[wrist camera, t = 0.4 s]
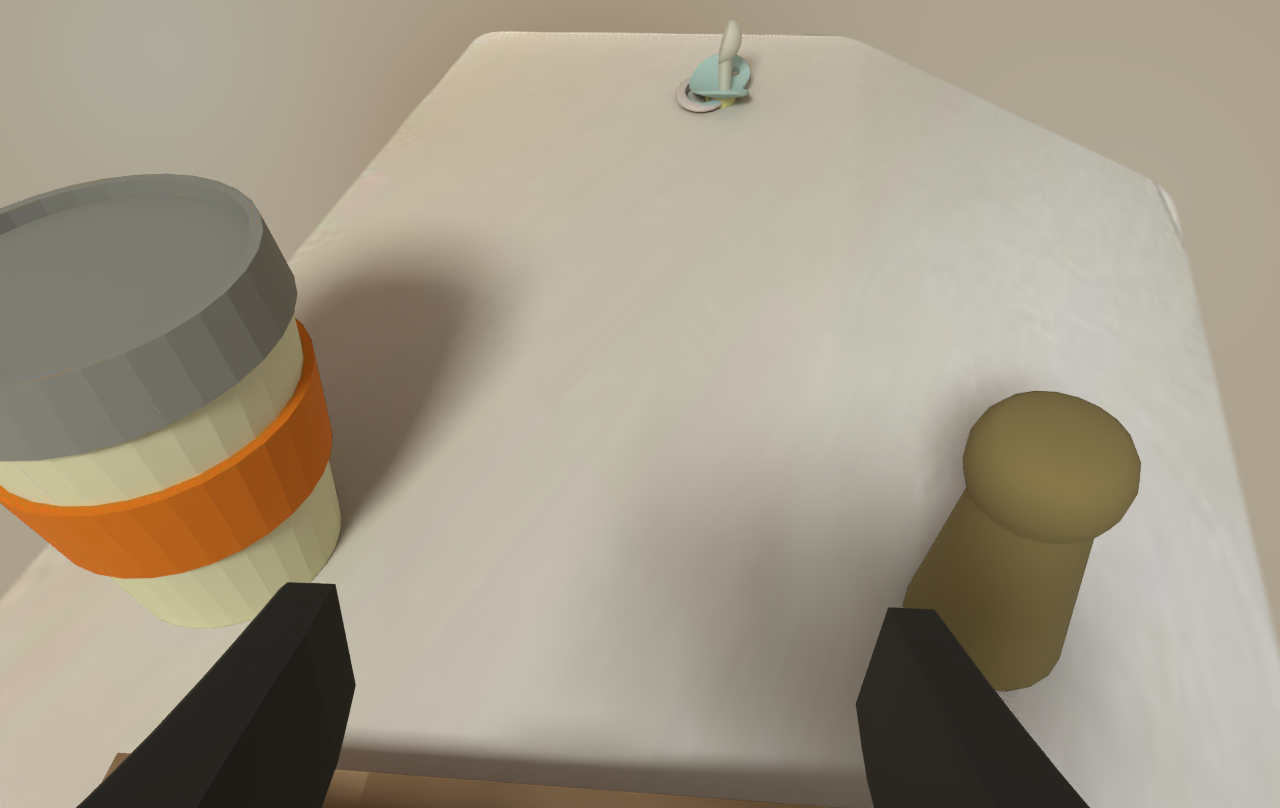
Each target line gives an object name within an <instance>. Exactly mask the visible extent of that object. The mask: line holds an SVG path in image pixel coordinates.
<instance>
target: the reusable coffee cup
mask: <svg viewBox="0 0 1280 808" xmlns="http://www.w3.org/2000/svg"><path fill="white" fill-rule="evenodd" d="M296 298H297V290H296V284H295V279H294V275H293V273H292V271H291V270H290V268H289V266H288V264H287V262H286V260H285V259H284V257H283V255H282V253H281V251H280V249H279V247H278V246H277V244H276V242H275V240H274V238H273V236H272V234H271V233H270V231H269V229H268V227H267V225H266V223H265V222H264V220H263V218H262V216H261V214H260V213H259V211H258V209H257V208H256V207H255V205H254V203H253V201H252V200H251V199H249V198H248V197H247V196H245V195H244V194H243V193H241V192H240V191H239V190H238V189H235V188H233V187H230V186H228V185H226V184H223V183H221V182H218V181H215V180H210V179H205V178H201V177H196V176H187V175H174V174H150V175H131V176H123V177H115V178H107V179H101V180H96V181H91V182H86V183H82V184H76V185H71V186H68V187H64V188H60V189H57V190H54V191H50V192H47V193H43V194H39V195H36V196H33V197H30V198H28V199H25V200H22V201H19V202H17V203H14V204H11V205H8V206H6V207H3V208H1V209H0V503H1V504H2V505H3V506H5V507H6V508H7V509H8V510H9V511H11V512H12V513H13V514H14V515H16V516H17V517H18V518H19V519H21V520H22V521H23V522H24V523H25V524H27V525H28V526H29V527H30V528H31V529H33V530H34V531H35V532H36V533H38V534H39V535H40V536H41V537H43V538H44V539H45V540H46V541H47V542H48V543H50V544H51V545H52V546H53V547H55V548H56V549H57V550H58V551H59V552H61V553H62V554H63V555H64V556H66V557H67V558H68V559H69V560H70V561H72V562H73V563H74V564H75V565H77V566H79V567H82V568H84V569H86V570H89V571H91V572H93V573H96V574H99V575H105V576H109V577H110V578H111V579H112V580H114V581H115V582H116V583H117V584H118V585H119V586H121V587H122V588H123V589H124V590H125V591H127V592H128V593H129V594H130V595H131V596H133V597H134V598H135V599H136V600H137V601H138V602H140V603H141V604H142V605H143V606H144V607H146V608H147V609H148V610H149V611H150V612H152V613H153V614H154V615H155V616H157V617H158V618H159V619H162V620H164V621H166V622H168V623H171V624H173V625H177V626H182V627H188V628H218V627H223V626H229V625H235V624H238V623H241V622H244V621H247V620H250V619H253V618H255V617H256V616H257V615H258V614H259V612H260V611H261V610H262V609H263V608H264V607H265V605H266V604H267V603H268V602H269V601H270V599H271V598H272V597H273V596H274V595H275V594H276V592H277V591H278V590H279V589H280V588H281V587H282V586H283V585H285V584H286V583H287V582H298V583H310V582H311V581H312V580H313V579H314V578H315V577H316V575H317V574H318V573H319V572H320V571H321V569H322V568H323V567H324V566H325V565H326V563H327V561H328V559H329V558H330V556H331V554H332V552H333V551H334V549H335V547H336V544H337V541H338V537H339V534H340V529H341V518H342V517H341V512H340V507H339V502H338V497H337V493H336V489H335V485H334V481H333V476H332V472H331V468H330V464H329V457H330V455H331V446H332V437H333V435H332V430H331V425H330V420H329V415H328V411H327V406H326V402H325V397H324V393H323V389H322V384H321V380H320V375H319V371H318V366H317V362H316V358H315V353H314V349H313V344H312V340H311V338H310V336H309V335H308V333H307V331H306V329H305V328H304V326H303V324H301V323H300V322H299V321H298V320H297V319H296V318H295V316H294V309H295V304H296Z"/></svg>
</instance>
